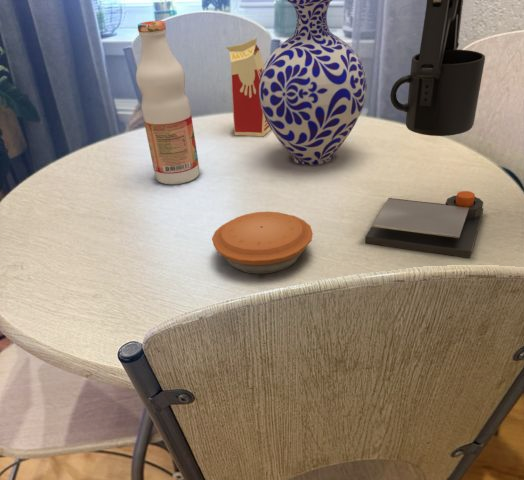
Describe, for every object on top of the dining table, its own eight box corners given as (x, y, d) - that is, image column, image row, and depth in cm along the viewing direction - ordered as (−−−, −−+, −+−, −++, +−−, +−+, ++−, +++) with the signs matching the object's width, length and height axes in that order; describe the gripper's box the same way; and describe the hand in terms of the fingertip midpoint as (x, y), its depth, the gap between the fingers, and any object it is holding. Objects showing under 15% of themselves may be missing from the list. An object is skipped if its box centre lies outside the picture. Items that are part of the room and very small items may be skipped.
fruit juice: (146, 178, 113) (114, 25, 95) (181, 164, 117) (156, 16, 100) (174, 189, 107) (144, 29, 89) (209, 174, 112) (188, 19, 94)
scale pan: (468, 209, 85) (469, 207, 85) (459, 238, 78) (459, 236, 78) (388, 200, 90) (388, 198, 89) (372, 226, 83) (372, 225, 83)
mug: (383, 119, 81) (388, 53, 76) (464, 114, 80) (475, 47, 75) (391, 139, 74) (397, 68, 68) (480, 135, 73) (494, 61, 67)
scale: (482, 213, 90) (486, 197, 88) (469, 258, 79) (473, 240, 77) (388, 203, 96) (389, 187, 94) (364, 243, 85) (365, 225, 83)
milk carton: (274, 124, 135) (270, 33, 122) (265, 136, 128) (259, 42, 115) (240, 123, 137) (232, 34, 124) (229, 135, 130) (219, 43, 117)
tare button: (474, 201, 88) (476, 191, 87) (471, 209, 86) (473, 198, 85) (456, 200, 89) (458, 190, 88) (453, 207, 87) (455, 197, 86)
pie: (204, 281, 80) (200, 251, 76) (226, 232, 91) (222, 204, 88) (307, 283, 77) (307, 253, 74) (316, 232, 89) (316, 204, 86)
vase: (255, 176, 109) (241, 4, 90) (272, 140, 125) (263, -13, 106) (361, 176, 105) (370, -4, 86) (364, 139, 121) (373, -20, 102)
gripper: (440, -84, 71) (420, 95, 86) (402, -74, 56) (386, 141, 71) (500, -88, 69) (469, 97, 83) (477, -79, 54) (444, 145, 68)
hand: (431, 117), depth 77 cm, fingers closed on mug, 9 cm apart
